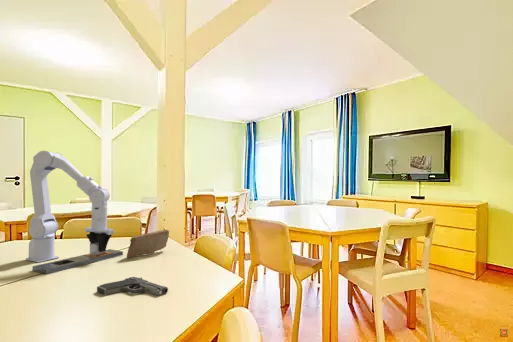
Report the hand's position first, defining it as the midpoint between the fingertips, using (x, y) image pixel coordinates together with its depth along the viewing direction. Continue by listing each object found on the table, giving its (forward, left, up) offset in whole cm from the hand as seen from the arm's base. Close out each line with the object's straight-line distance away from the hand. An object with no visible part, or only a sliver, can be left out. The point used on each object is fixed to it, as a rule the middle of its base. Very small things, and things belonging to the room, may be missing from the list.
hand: (98, 250), depth 122 cm
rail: (0, -7, -3) cm, 8 cm away
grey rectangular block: (0, -1, -3) cm, 3 cm away
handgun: (+45, -19, -4) cm, 48 cm away
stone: (+14, +14, -3) cm, 20 cm away
